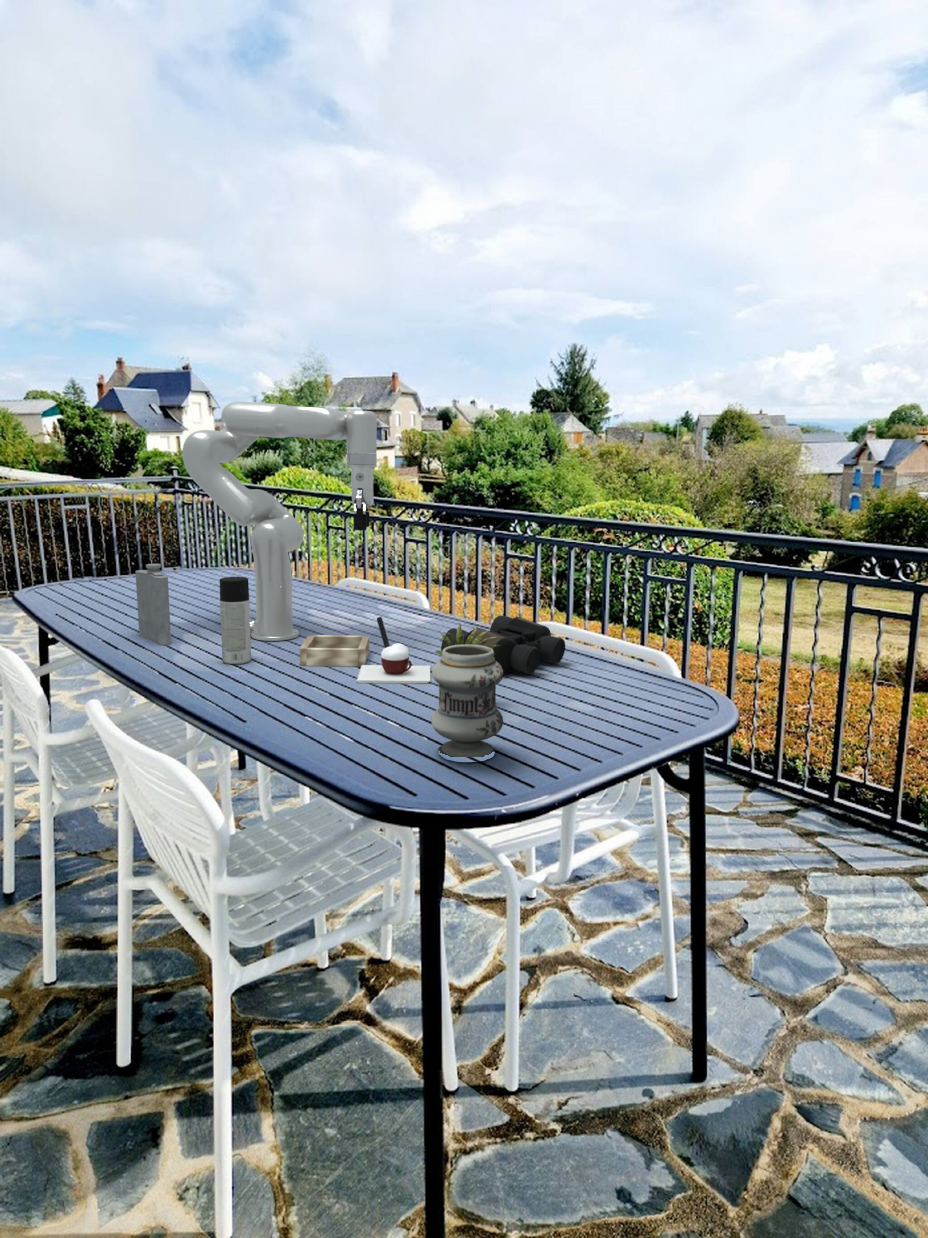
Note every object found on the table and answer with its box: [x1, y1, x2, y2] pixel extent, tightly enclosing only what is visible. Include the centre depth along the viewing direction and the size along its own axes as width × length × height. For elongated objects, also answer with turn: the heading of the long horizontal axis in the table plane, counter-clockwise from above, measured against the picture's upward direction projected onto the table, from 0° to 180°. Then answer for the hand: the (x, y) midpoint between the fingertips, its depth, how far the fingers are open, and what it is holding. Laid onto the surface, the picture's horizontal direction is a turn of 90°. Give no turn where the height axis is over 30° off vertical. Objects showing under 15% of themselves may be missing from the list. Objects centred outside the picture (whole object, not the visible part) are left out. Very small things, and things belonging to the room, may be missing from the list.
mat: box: [356, 664, 431, 684], centre depth 181 cm, size 16×13×1 cm
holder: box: [299, 634, 370, 667], centre depth 195 cm, size 15×15×4 cm
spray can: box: [219, 576, 252, 665], centre depth 188 cm, size 7×7×20 cm
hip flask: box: [135, 563, 172, 646], centre depth 208 cm, size 16×4×20 cm, turn 42°
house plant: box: [433, 623, 500, 656], centre depth 160 cm, size 14×14×16 cm
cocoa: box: [376, 616, 413, 675], centre depth 180 cm, size 10×6×12 cm, turn 34°
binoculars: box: [440, 614, 566, 676], centre depth 193 cm, size 29×20×10 cm
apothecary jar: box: [430, 644, 504, 757], centre depth 133 cm, size 12×12×18 cm
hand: (361, 528), depth 206 cm, fingers open, 9 cm apart
